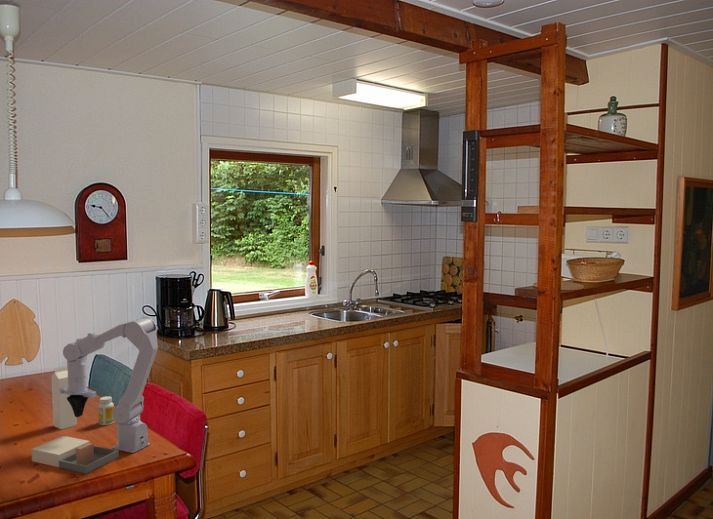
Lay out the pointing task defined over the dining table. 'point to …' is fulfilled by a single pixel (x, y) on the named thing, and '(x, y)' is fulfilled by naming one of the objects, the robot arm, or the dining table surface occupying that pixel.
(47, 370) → the dining table surface
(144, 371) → the robot arm
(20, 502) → the dining table surface
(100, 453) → the tray
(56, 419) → the milk
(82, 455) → the block
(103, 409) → the supplement bottle
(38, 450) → the cream square platform
